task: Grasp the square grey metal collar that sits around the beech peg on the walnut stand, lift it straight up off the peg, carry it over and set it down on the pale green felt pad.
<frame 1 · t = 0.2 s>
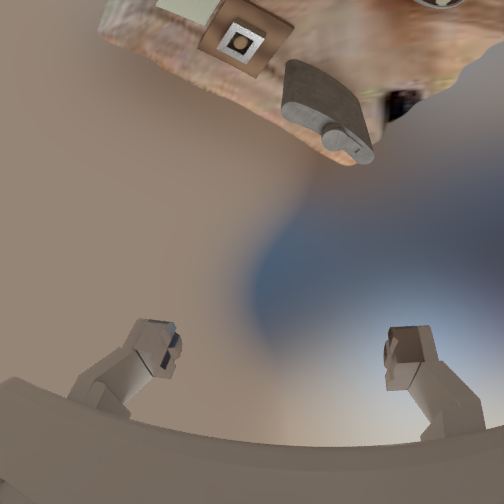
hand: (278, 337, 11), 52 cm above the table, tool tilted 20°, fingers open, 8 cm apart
peg stand: (245, 34, 45), on the table
hip flask: (325, 82, 51), on the table
collar: (243, 37, 43), point 2 cm above the table, touching peg stand
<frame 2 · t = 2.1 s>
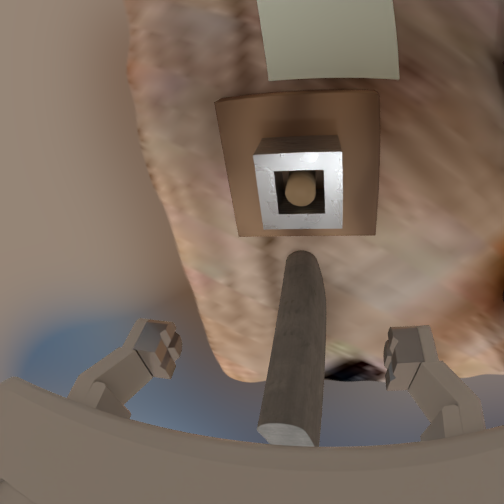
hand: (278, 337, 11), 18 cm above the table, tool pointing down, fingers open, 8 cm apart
pad: (328, 16, 18), on the table
peg stand: (303, 161, 25), on the table
hip flask: (310, 306, 35), on the table
collar: (302, 170, 24), point 2 cm above the table, touching peg stand
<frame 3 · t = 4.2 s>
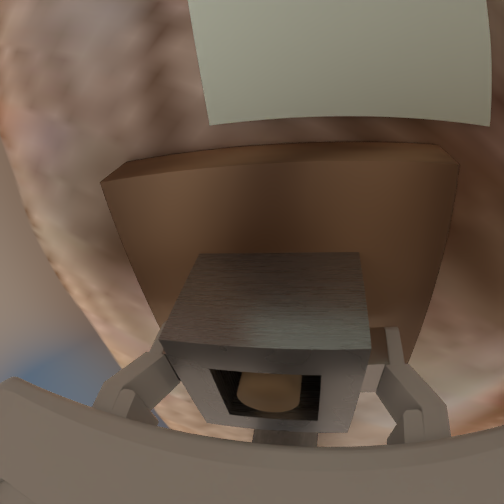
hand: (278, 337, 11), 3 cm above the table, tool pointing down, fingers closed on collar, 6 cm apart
peg stand: (286, 277, 14), on the table
hip flask: (297, 425, 24), on the table
collar: (282, 310, 12), point 2 cm above the table, touching gripper, peg stand
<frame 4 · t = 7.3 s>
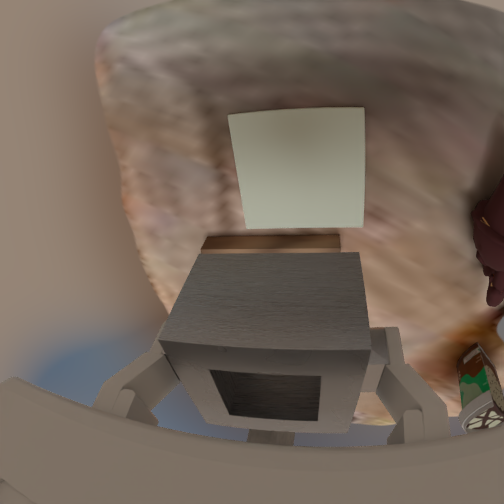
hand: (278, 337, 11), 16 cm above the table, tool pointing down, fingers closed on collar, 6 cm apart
pad: (300, 170, 24), on the table
peg stand: (277, 286, 31), on the table
hip flask: (286, 375, 41), on the table
icecream: (491, 206, 22), on the table
collar: (282, 310, 12), point 15 cm above the table, touching gripper
food container: (469, 364, 35), on the table
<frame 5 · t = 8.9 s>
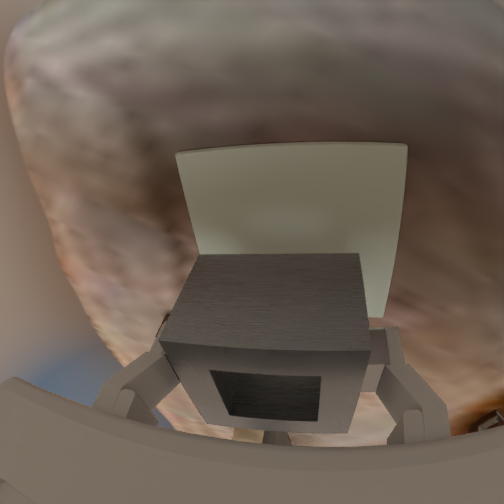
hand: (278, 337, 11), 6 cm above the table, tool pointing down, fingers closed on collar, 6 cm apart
pad: (295, 241, 15), on the table
peg stand: (261, 371, 23), on the table
hip flask: (276, 440, 33), on the table
collar: (282, 311, 12), point 4 cm above the table, touching gripper
food container: (482, 426, 27), on the table
when the fingers open (3 cm above the table, at t = 10.3 s): collar drops 1 cm, resting on pad.
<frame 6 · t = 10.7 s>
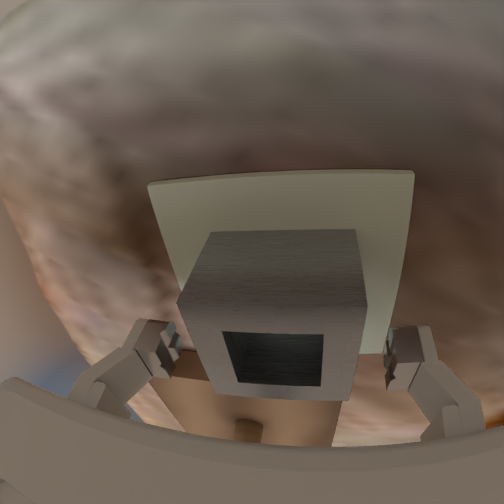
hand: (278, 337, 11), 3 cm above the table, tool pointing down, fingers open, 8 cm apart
pad: (285, 279, 14), on the table
peg stand: (254, 401, 21), on the table
collar: (286, 285, 14), resting on pad
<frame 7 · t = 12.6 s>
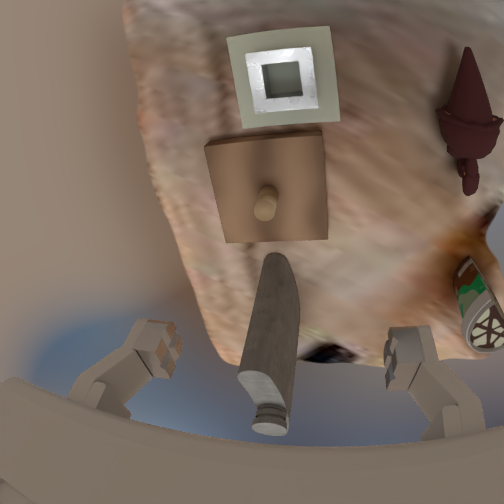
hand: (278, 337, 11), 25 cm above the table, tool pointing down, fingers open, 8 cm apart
pad: (284, 76, 27), on the table
peg stand: (271, 186, 35), on the table
hip flask: (286, 297, 45), on the table
icecream: (455, 113, 26), on the table
collar: (285, 77, 27), resting on pad
food container: (465, 284, 38), on the table
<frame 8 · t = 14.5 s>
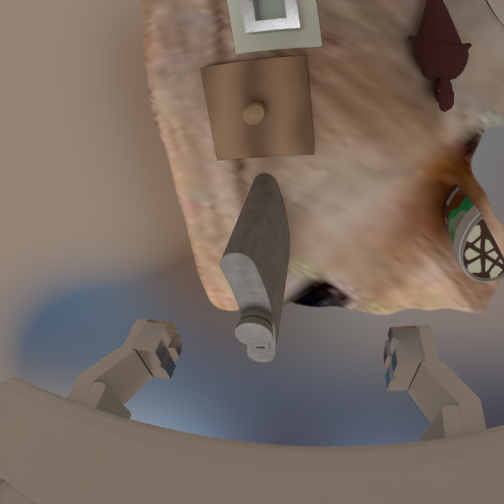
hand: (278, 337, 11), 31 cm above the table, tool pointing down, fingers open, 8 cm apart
pad: (273, 11, 28), on the table
peg stand: (260, 106, 35), on the table
hip flask: (275, 224, 45), on the table
icecream: (429, 46, 26), on the table
collar: (273, 10, 27), resting on pad
food container: (455, 218, 39), on the table
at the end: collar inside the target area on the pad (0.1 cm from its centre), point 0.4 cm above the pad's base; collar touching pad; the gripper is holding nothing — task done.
